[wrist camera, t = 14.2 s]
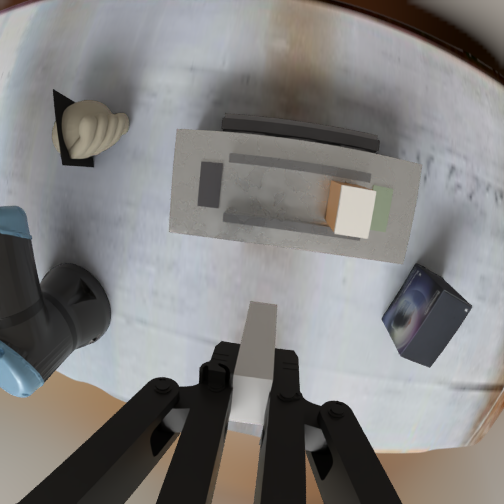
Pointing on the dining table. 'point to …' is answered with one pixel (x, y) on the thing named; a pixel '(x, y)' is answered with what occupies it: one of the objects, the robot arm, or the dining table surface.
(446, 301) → the small box
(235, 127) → the grooved gray rail
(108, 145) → the decorative object
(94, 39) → the dining table surface
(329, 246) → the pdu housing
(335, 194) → the lever
